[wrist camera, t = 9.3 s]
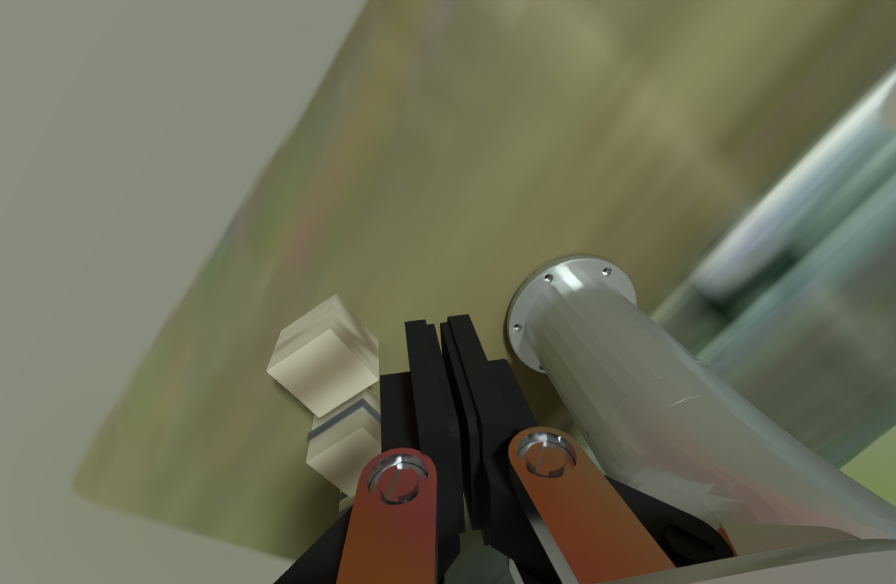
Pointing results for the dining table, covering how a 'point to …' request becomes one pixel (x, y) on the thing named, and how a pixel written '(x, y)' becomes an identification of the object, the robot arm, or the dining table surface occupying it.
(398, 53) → the dining table surface
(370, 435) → the banded block one
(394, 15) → the dining table surface
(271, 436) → the dining table surface
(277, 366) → the plain block
